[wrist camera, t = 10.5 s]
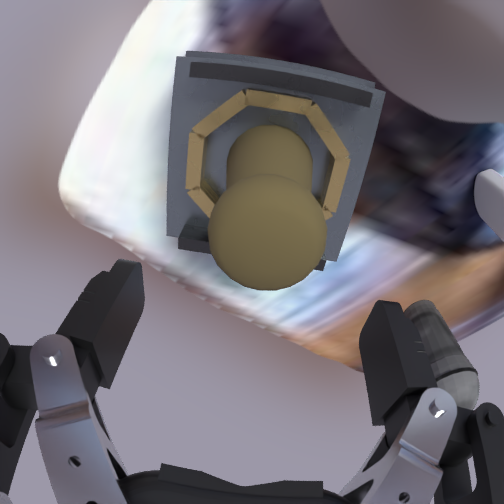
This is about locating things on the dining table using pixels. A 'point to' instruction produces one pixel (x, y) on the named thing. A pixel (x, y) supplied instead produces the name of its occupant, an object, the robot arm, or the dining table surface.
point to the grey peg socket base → (265, 113)
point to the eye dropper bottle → (490, 200)
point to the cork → (268, 211)
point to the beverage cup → (445, 354)
